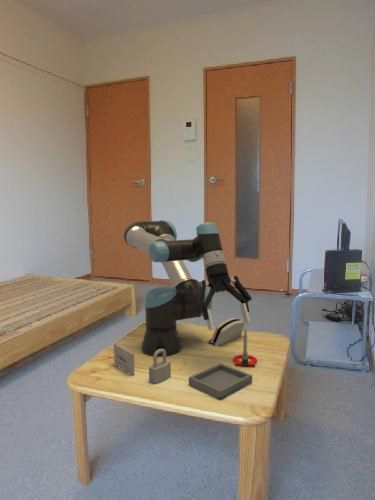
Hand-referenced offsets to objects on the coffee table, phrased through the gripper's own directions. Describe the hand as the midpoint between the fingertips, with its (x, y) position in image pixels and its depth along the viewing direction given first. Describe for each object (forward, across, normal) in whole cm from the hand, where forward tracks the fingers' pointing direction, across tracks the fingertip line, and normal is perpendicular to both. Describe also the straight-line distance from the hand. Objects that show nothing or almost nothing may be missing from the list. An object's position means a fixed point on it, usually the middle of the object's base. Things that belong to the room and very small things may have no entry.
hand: (229, 326), depth 132 cm
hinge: (+4, +12, +29) cm, 31 cm away
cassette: (+7, -34, +18) cm, 39 cm away
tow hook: (+13, +7, +10) cm, 17 cm away
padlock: (+12, -25, +8) cm, 29 cm away
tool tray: (+17, -8, -1) cm, 19 cm away
